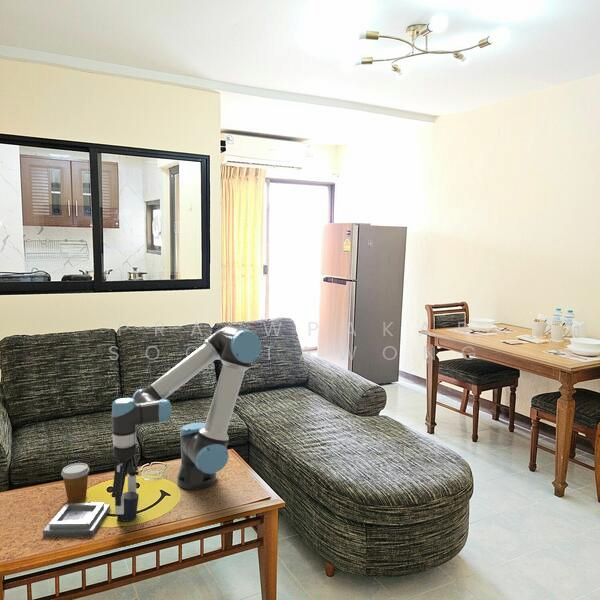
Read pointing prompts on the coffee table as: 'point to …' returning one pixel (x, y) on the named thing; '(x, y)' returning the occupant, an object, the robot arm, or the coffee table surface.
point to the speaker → (129, 506)
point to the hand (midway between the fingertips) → (126, 503)
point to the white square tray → (77, 519)
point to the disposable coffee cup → (75, 481)
